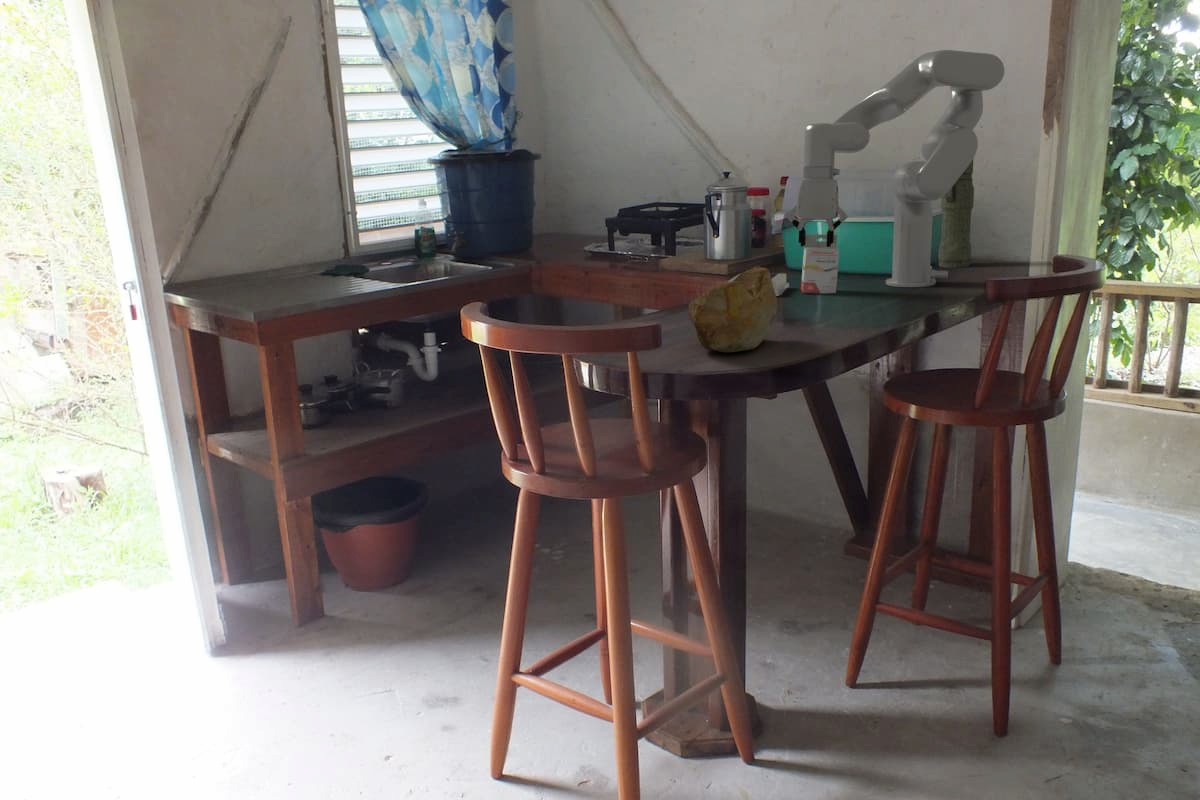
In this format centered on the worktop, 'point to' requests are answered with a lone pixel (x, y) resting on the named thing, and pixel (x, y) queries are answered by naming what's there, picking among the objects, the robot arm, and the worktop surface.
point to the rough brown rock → (735, 312)
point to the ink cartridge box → (819, 265)
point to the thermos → (957, 222)
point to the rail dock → (775, 283)
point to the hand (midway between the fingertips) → (815, 245)
